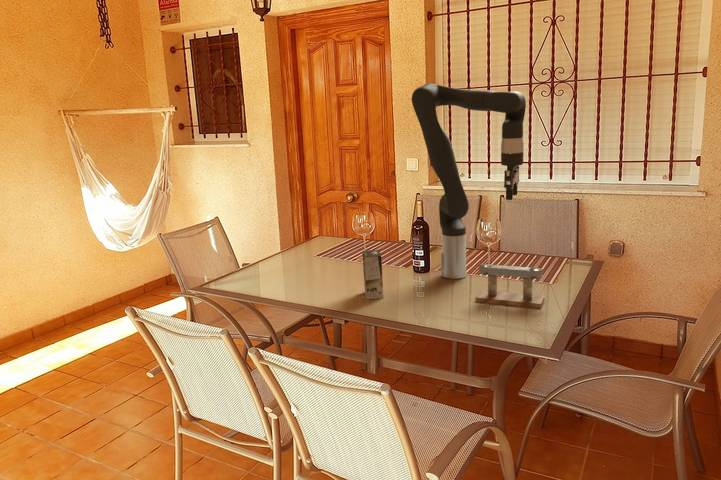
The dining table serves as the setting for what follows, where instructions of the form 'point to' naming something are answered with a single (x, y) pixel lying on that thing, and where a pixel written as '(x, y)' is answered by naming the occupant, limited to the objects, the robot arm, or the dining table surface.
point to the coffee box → (372, 274)
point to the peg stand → (510, 295)
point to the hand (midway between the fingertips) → (511, 197)
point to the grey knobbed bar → (511, 271)
